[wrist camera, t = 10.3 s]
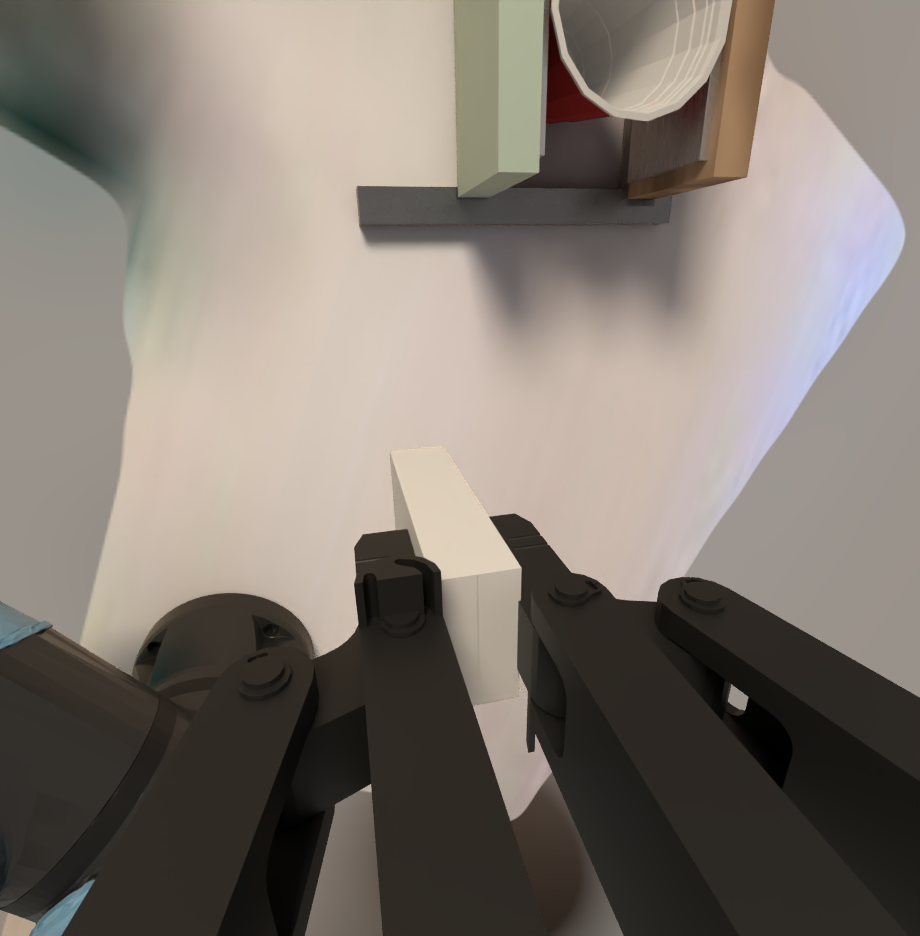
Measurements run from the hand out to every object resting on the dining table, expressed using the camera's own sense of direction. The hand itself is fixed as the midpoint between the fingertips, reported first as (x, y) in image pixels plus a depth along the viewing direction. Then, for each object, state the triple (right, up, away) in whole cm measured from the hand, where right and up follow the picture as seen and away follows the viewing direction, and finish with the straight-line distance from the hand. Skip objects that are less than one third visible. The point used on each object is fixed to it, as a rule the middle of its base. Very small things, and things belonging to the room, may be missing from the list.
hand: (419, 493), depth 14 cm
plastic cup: (+7, +29, +23) cm, 38 cm away
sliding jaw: (+2, +28, +20) cm, 35 cm away
